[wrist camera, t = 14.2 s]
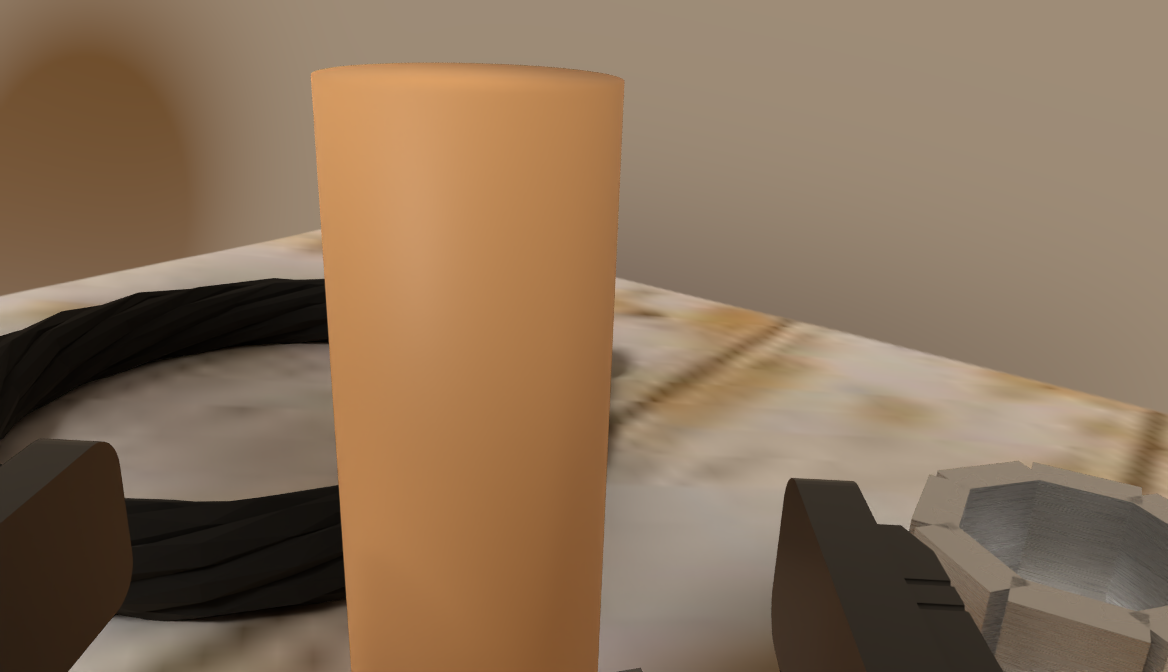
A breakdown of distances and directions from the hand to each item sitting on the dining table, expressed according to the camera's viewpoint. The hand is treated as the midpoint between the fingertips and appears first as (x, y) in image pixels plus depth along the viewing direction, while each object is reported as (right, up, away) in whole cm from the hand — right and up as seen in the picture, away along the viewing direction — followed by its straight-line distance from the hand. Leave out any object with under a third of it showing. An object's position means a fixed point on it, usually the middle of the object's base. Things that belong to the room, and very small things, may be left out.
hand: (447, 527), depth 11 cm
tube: (0, -9, +8) cm, 12 cm away
